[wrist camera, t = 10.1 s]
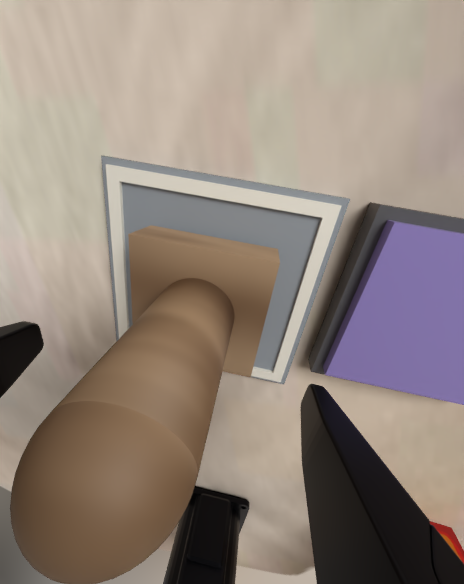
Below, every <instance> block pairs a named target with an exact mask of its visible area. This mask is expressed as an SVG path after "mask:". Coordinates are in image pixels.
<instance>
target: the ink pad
mask: <svg viewBox="0 0 464 584" xmlns="http://www.w3.org/2000/svg"><path fill="white" fill-rule="evenodd" d="M308 360H309V364H310V369H311V372H316V373H320V374H325V375H328V376H333V377H337V378H342V379H347V380H351V381H356V382H360V383H365V384H370V385H374V386H379V387H384V388H388V389H393V390H397V391H402V392H407V393H411V394H416V395H421V396H425V397H430V398H434V399H439V400H444V401H448V402H453V403H458V404H462V405H464V219H462V218H457V217H451V216H445V215H439V214H434V213H428V212H422V211H417V210H411V209H405V208H399V207H394V206H388V205H382V204H376V203H371V202H370V205H369V207H368V210H367V212H366V215H365V217H364V220H363V222H362V225H361V228H360V230H359V233H358V235H357V238H356V240H355V243H354V245H353V248H352V250H351V253H350V255H349V258H348V260H347V263H346V266H345V268H344V271H343V273H342V276H341V278H340V281H339V283H338V286H337V288H336V291H335V293H334V296H333V298H332V301H331V303H330V306H329V309H328V311H327V314H326V316H325V319H324V321H323V324H322V326H321V329H320V331H319V334H318V336H317V339H316V341H315V344H314V346H313V349H312V352H311V354H310V357H309V359H308Z"/></svg>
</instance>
